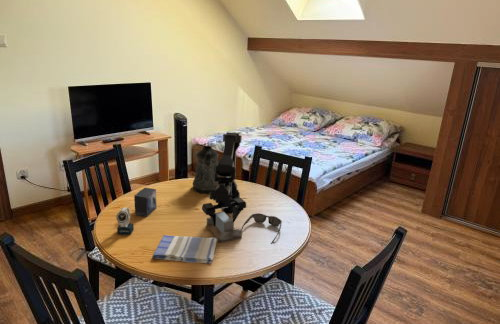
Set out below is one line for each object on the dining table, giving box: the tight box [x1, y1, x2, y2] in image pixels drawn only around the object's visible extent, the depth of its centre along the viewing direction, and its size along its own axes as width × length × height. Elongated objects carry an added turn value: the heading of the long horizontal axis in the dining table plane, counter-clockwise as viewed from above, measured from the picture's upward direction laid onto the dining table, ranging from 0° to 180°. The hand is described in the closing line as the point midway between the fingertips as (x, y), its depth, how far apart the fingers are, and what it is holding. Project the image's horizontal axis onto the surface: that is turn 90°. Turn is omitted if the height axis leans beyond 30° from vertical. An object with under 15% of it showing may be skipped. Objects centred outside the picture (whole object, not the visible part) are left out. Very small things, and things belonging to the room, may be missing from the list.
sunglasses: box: [241, 212, 282, 245], centre depth 155 cm, size 16×17×5 cm
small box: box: [133, 187, 157, 218], centre depth 166 cm, size 11×6×10 cm, turn 168°
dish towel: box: [151, 234, 218, 264], centre depth 138 cm, size 17×24×3 cm
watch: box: [115, 207, 135, 236], centre depth 147 cm, size 6×8×11 cm
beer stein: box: [192, 145, 221, 195], centre depth 194 cm, size 16×19×25 cm
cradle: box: [206, 213, 243, 244], centre depth 153 cm, size 10×16×4 cm, turn 28°
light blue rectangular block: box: [215, 211, 235, 233], centre depth 152 cm, size 4×11×6 cm, turn 28°
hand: (223, 223), depth 152 cm, fingers open, 9 cm apart
